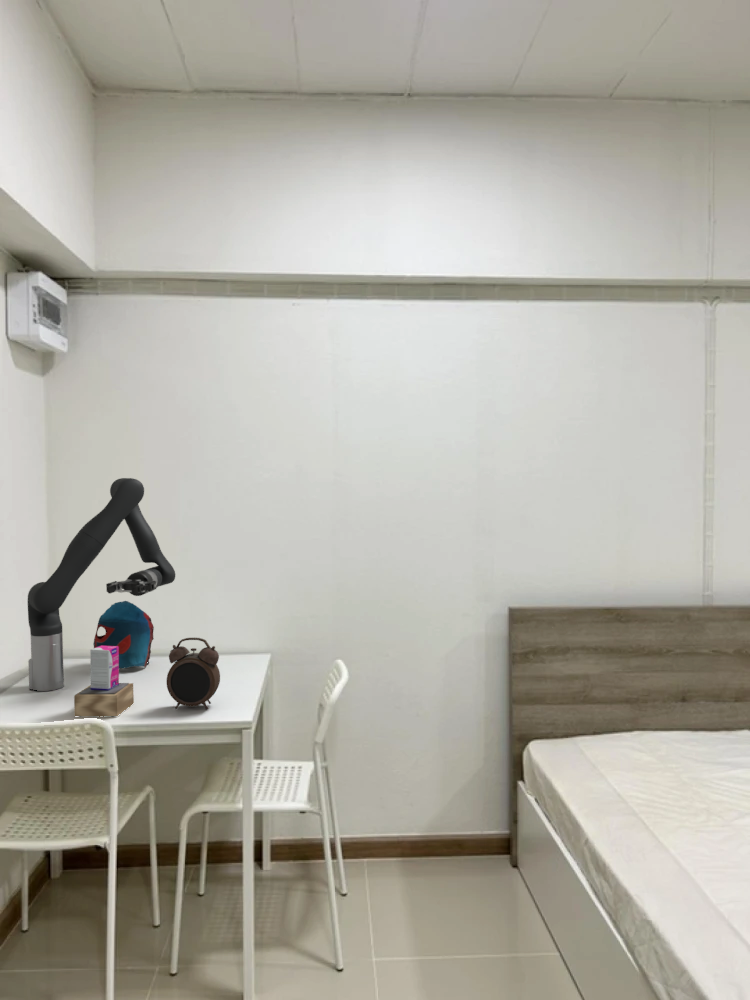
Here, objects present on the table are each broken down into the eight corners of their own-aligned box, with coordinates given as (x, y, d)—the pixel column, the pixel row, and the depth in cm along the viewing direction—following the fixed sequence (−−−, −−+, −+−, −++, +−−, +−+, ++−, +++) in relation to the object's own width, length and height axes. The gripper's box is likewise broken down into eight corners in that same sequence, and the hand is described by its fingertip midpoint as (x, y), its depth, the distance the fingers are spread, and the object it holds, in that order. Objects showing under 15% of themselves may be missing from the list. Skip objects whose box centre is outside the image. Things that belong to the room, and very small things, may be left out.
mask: (102, 688, 255) (73, 622, 256) (153, 663, 268) (125, 600, 269) (120, 681, 242) (89, 611, 243) (173, 655, 255) (143, 589, 256)
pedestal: (74, 717, 202) (74, 694, 202) (93, 703, 214) (92, 682, 214) (117, 717, 202) (116, 694, 202) (133, 703, 214) (133, 681, 214)
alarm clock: (164, 712, 206) (163, 641, 205) (173, 704, 213) (171, 635, 212) (215, 712, 205) (214, 640, 204) (222, 704, 212) (221, 635, 212)
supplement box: (109, 691, 205) (108, 650, 204) (89, 690, 206) (88, 649, 205) (120, 685, 210) (119, 645, 210) (101, 684, 211) (100, 645, 211)
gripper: (120, 571, 239) (99, 577, 222) (163, 570, 238) (145, 577, 222) (120, 594, 239) (100, 602, 223) (164, 593, 238) (146, 602, 222)
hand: (122, 589), depth 222 cm, fingers open, 8 cm apart
